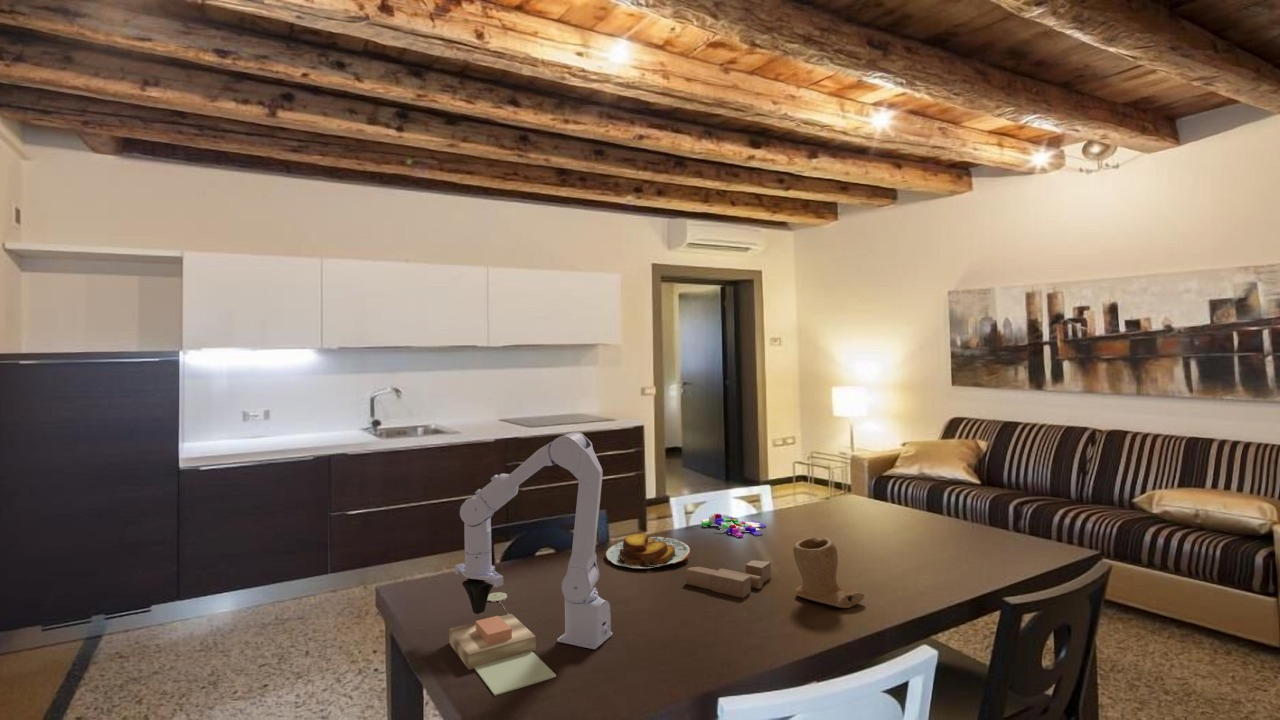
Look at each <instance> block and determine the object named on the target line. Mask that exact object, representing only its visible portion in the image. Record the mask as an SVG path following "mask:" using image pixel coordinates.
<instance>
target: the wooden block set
mask: <svg viewBox="0 0 1280 720" xmlns="http://www.w3.org/2000/svg"><path fill="white" fill-rule="evenodd" d="M771 565H772V564H771V561H762V560H754V559H753V560H749V562H747V563H746V564H745V573H744V572H739V571H736V570H732V569H731V570H729V569H726V568H719V569H713V568H712V569H711V568H707V567H702V566H694V567H688V568H687V569H686V570H685V584H686V585H688V586H689V585H690V586H694V587H696V588H697V587H698V588H700V589H701V588H702V589H706V590H710V591H712V592H715V593H721V594H724V595H729V596H732V597H736V598H743V599H744V598H745V597H747V596H748V595H750V594H751V593H752V589H756V590H761V589H762V587H763V584H764V583H766V582H767V581H769V580H770V579H771V578H772V567H771Z"/></svg>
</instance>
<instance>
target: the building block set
mask: <svg viewBox="0 0 1280 720" xmlns="http://www.w3.org/2000/svg"><path fill="white" fill-rule="evenodd" d="M699 521H700V522H701V526H702V525H703V526H707V525H712V524H717V525H719V526H720V527H722V528H723V529H727V532H728V533H732V534H734V535H736V536H738V537H743V538H744V534H743V533H744V532H745V531H750V532H751V533H753V534H755V535H759V534H762V535H763V533H762V532H760V531H761V528H755V527H766V528H767V526H766V524H765V523H761V522H760V521H755V520H749V521H750V522H749V521H746V522H745V521H743V520H742V521H741V520H740V521H739V518H737V517H732V516H730V517H729V516H727V517H726V518H722V513H714V514H711V515H709V516H708V518H706V519H700V520H699ZM731 521H732V522H733V523H734V525H730V524H728V523H726V522H731ZM745 524H748V525H745ZM735 525H736V526H735ZM707 527H708V526H707ZM756 530H760V531H759V532H758V531H756ZM727 532H726V533H727ZM739 532H740V533H739ZM751 533H750V534H751Z"/></svg>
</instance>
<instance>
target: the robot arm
mask: <svg viewBox="0 0 1280 720" xmlns="http://www.w3.org/2000/svg"><path fill="white" fill-rule="evenodd" d="M593 446H594V445H593V443H592V442H591V440H589V439H588V438H587V436H585V435H584V434H583V433H581V432H579V431H575V430H574V431H569V432H567V433H565V434H564V435H560V436H559V437H557V438H555V439H554V440H553V441H551V442H549V443H548V444H545V445H544V446H542V447H540V448H539V449H538V450H536V451H535V452H534V453H532V455H531V456H529V457H528V458H527V459H526V460H525V461H524V462H522V463H521V464H520V465H519V466H518V467H516V468H515V469H514V470H513V471H512V472H511V473H500V474H495V475H493V476H492V477H490V480H491V481H490V482H489V483H488V484H487V485H485V486H484V487H482V489H481V488H478V489H477V490H476V491H475V492H474V494H475V496H473V497H469V498H467V499H465V500H464V502H463V503H462V504H461V506H460V509H459V517H460V519H461V521H462V522H463V523H464V524H463V525H464V527H463V528H464V532H463V533H464V562H462V563H459V564H456V565H454V574H455V575H457V576H458V575H463V576H464V577H465V578H466V580H463V581H462V587H463V588H464V590H465V591H466V594H467V596H468V598H469V602H470V606H471V609H472V613H473V614H476V615H480V614H481V613H484V612H485V611H486V606H487V602H488V601H487V599H488V595H489V594H491V593H490V592H491V590H492V588H493V587H494V588H498V587H500V586H503V585H504V576H503V575H501V574H499V572H497V571H496V566H495V565H492V561H493V560H492V559H493V558H492V524H491V523H492V520H491V519H492V517H493V516H494V514H495V512H497V511H498V510H499V509H501V508H502V507H503V506H504V505H506V504H507V503H508V502H509V501H511V500H512V499H513V498H515V497H516V496H517V495H518V493H519V487H520V485H521V484H522V483H524V482H525V481H526V480H528V479H529V478H530V477H531V476H533V475H534V474H535V473H537V472H538V471H540V470H541V469H542V468H544V467H550V466H554V465H559V467H562V468H563V469H565V470H568V471H569V472H570V473H571V474H572V475H573V476H574V477H575V478H576V479H577V481H578V486H577V487H578V489H577V496H576V497H577V498H576V508H575V517H574V526H573V527H574V528H573V536H572V537H573V538H572V546H571V547H572V549H571V555H570V558H569V561H568V565H567V571H566V574H565V576H564V578H563V579H562V582H561V592H562V594H563V595H564V628H565V629H564V634H561V636H560V637H558V638H557V639H556V641H557V642H558V643H562V644H568V645H573V646H577V647H579V648H580V647H581V648H587V649H590V650H597V649H598V647H600V646H601V645H602V644H604V642H605V641H607V640H608V639H609V638H610V637H612V636H613V632H612V627H611V626H612V625H611V623H612V621H611V620H612V619H611V618H612V617H611V616H612V615H611V605H610V603H609V601H608V600H605V599H603V598H602V597H600V596H599V591H598V589H597V588H596V584H597V583H598V582H599V579H600V569H599V567H598V564H597V563H598V562H597V559H598V556H597V553H596V547H597V546H596V544H597V535H598V534H597V533H598V523H599V514H600V506H601V505H600V504H601V497H602V496H601V495H602V485H603V484H602V483H603V477H604V476H603V473H604V472H603V468H602V465H601V464H600V461H599V460H598V457H597V454H596V453H595V451H594V447H593Z"/></svg>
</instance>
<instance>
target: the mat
mask: <svg viewBox="0 0 1280 720" xmlns="http://www.w3.org/2000/svg"><path fill="white" fill-rule="evenodd" d="M473 670H475V671H476V673H477V674H478V675H479V677H480V678H481V679H482V681H483V683H484V684H485V685H486V686H487V687H488V688H489V690H490V691H491V693H492V694H493V696H494V697H495V696H499V695H502V694H505V693H508V692H512V691H515V690H518V689H521V688H525V687H528V686H531V685H535V684H538V683H541V682H544V681H547V680H550V679H553V678H556V677H557V674H556V673H555V672H553V670H552V669H551V668H550V667H549V666H548V665H547V664H546V663H545V662H544V661H543V660H542V659H541V658H540V657H539V656H538V655H536V654H535V652H532V651H529V652H526V653H522V654H519V655H515V656H512V657H508V658H505V659H501V660H497V661H494V662H490V663H487V664H483V665H480V666H476V667H474V669H473Z"/></svg>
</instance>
